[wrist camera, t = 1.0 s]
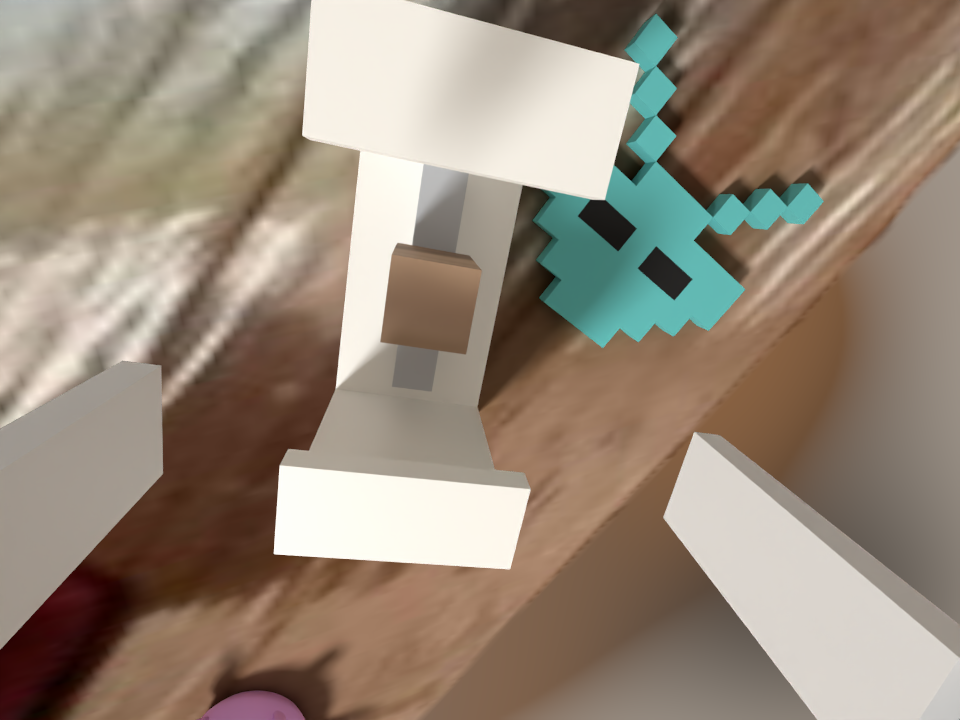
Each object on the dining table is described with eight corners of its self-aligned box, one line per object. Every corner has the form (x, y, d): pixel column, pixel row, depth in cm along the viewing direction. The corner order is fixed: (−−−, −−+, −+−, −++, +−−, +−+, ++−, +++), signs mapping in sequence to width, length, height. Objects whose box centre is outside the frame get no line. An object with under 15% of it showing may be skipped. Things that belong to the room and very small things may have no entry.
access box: (368, 90, 33) (313, -25, 16) (531, 128, 35) (639, 63, 18) (336, 400, 40) (273, 554, 23) (473, 417, 43) (509, 569, 25)
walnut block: (397, 242, 32) (391, 254, 25) (469, 255, 33) (482, 270, 26) (387, 313, 34) (380, 342, 27) (457, 324, 34) (466, 354, 28)
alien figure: (641, 24, 34) (475, 248, 38) (656, 13, 32) (479, 251, 36) (802, 201, 40) (644, 380, 44) (823, 201, 38) (656, 389, 42)
